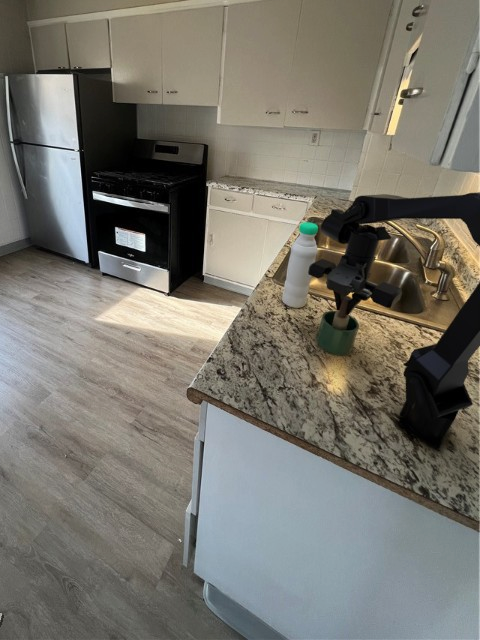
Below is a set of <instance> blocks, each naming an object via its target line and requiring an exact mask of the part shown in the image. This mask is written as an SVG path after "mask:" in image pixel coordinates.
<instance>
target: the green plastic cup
mask: <svg viewBox="0 0 480 640" xmlns="http://www.w3.org/2000/svg"><path fill="white" fill-rule="evenodd" d="M336 312H338V310H328V311H325V312H324V313H322V316H321V319H320V324H319V327H318V331H317V335H316V343H317V345H318V346H319V347H320V348H321V349H322V350H324V351H326V352H327V353H330V354H331V355H336V356H345V355H348V354H350V353H351V352H352V351H353V348H354V344H355V341H356V338H357V335H358V332H359V329H360V323H359V322H358V320H357V318H354V316H352V315H350V314H349V315H348V316H349V321H348V324H347V328H346V330H340V329H337V328H334V327H332V323H333V319H334V315H335V313H336Z"/></svg>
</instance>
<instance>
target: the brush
mask: <svg viewBox="0 0 480 640" xmlns="http://www.w3.org/2000/svg"><path fill="white" fill-rule="evenodd" d="M351 299H352V296H349V295H347V296H343V297H342V300H341V304H340V308H339V311H338V310H337V311H338V312H336V313H335V315H334V319H333V323H332V327H334V328H337V329H340V330H346V328H347V324H348V321H349V316H348V315H346V313H347V309H348V307H349V304H350V302H351Z"/></svg>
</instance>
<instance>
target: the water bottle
mask: <svg viewBox="0 0 480 640" xmlns="http://www.w3.org/2000/svg"><path fill="white" fill-rule="evenodd" d="M318 230H319V226H318V225H317V224H316V223H315V222H308V221H306V222H301V223H300V224H299V227H298V233H299V235H298V237H297V238H296V239H295V241H294V242H293V243H292V244H291V247H290V254H289V259H288V262H287V268H286V276H285V277H286V278H285V281H284V286H283V292H282V295H281V300H282V302H283V304H285V306H287V307H290V308H295V309H300V308H303V307H305V306H306V305H307V303H308V302H307V301H308V294H309V292H310V286H311V281H312V277H313V276H311V275H309V274H308V270H309V266H310V265H311V264H312V263H314V262H316V258H317V257H316V256H317V255H318V252H319V250H318V246H317V245H318V244H317V241H316V239H315V236H317V234H318Z"/></svg>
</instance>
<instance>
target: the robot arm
mask: <svg viewBox="0 0 480 640" xmlns="http://www.w3.org/2000/svg"><path fill="white" fill-rule="evenodd" d="M401 219H403V220H405V219H407V220H408V219H409V220H410V219H411V220H413V219H414V220H415V219H416V220H418V219H419V220H430V219H431V220H445V219H446V220H460V221H462V222H463V223H464V224H465V225H466V228H467V229H468V233H470V236H471V238H472V240H473V242H475V244H476V245H477V246H479V247H480V191H479V192H477V191H476V192H469V193H465V194H456V195H438V196H421V197H403V196H400V195H395V194H387V193H381V194H380V193H379V194H366V195H364V194H363V195H358V196H356V197H355V198H354V200H353V201H352V204H351V205H350V206H349V207H348V208H347V209H346V210H344V211H343V210H342V209H340V208H335V209H333V208H332V209H331V210H330V214H328V215H327V216H326V217H325V218H324V219H323V221H322V222H321V224H320V232H321V233H322V235H324V236H326V237H327V238H330V239H331V240H333V241H335V242H337V243H339V244H341V245H346V247H345V251H344V254H343V255H341V257H340V259H339V260H340V261H339V262H338V264H336V263H335V262H332V261H330V260H328V259H325V258H321V259H319V260H317V261H315V262H314V263H312V264H311V265H310V266H309V270H308V274H309V275H311V276H312V277H314V278H315V279H318V280H319V279H321V278H323V277H324V275H326V281H325V285H326V289H327V290H329V291H332V292H333V296H334V297H333V298H334V302H335V303H334V304H335V307H336V311H339V308H340V304H341V300H342V297H343V296H349V295H350V294H351V298H352V299H351V302H350V304H349V307H348V309H347V313H346V315H350V314H351V313H352V312H353V311H354V310H355V309H356V307H357V306H359V304H360V303H361V302H366V301H368V300H369V299H370V300H371V301H372V303H374V304H377V305H379V306H382V307H384V308H386V309H391V308H392V307H394V306H395V305H396V304H397V303H398V302H399V301H401V298H402V296H403V291H402V288H401V287H399V286H396V285H394V284H391V283H388V282H385V281H382V282H381V283H379V284H377V283H376V282H372V281H369V280H368V279H370V277H371V270H372V265H373V263H374V262H375V261H376V253H377V250H378V246H379V243H380V241H388V240H391V239H392V236H391V234H390V233H389V231H388V230H387V228H386V226H377V227H376V226H373V225H371V224H378V223H380V224H381V223H387V222H391V221H399V220H401ZM479 348H480V281H478V284H477V285H476V287H475V288H474V289H473V291H472V292H471V293H470V295H469V297H468V298H467V299H466V300H465V302H464V304H463V305H462V307H461V308H460V309H459V311H458V312H457V314H456V315H455V316H454V318H453V319H452V320H451V322H450V323H449V325H448V326H447V328H446V329H445V331H444V332H443V333H442V335H441V336H440V338H439V339H438V340H437V342H436V343H434V344H430V345H426V346H423V347H419V348H415V349H413V350H412V352H411V353H410V356H409V358H408V360H407V361H406V362H404V363H403V364H402V365H403V366H404V367H405V368H404V369H403V370H404V371H403V377H404V378H405V401H404V404H403V406H402V408H401V410H400V411H399V416H400V419H399V420H398V422H397V424H398V426H399V427H401V428H402V429H404V430H405V431H407V432H408V433H409V434H411V435H412V436H414V437H416V438H417V439H419V440H420V441H422V442H423V443H425V444H426V445H428V446H429V447H431V448H433V449H434V450H435V451H439V450H440V449H441V447H442V445H443V443H444V441H445V438H446V437H447V434H448V432H449V430H450V429H451V427H452V425H453V423H454V421H455V420H456V417H457V416H458V414H459V411H460V410H465V409H468V408H470V407H471V406H473V401H472V398H471V396H470V394H469V392H468V390H467V387H466V385H465V381H466V378H467V377H468V375H469V361H470V359H471V358H472V357H473V355H474V354H475V353H476V352H477V351H478V350H479Z"/></svg>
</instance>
